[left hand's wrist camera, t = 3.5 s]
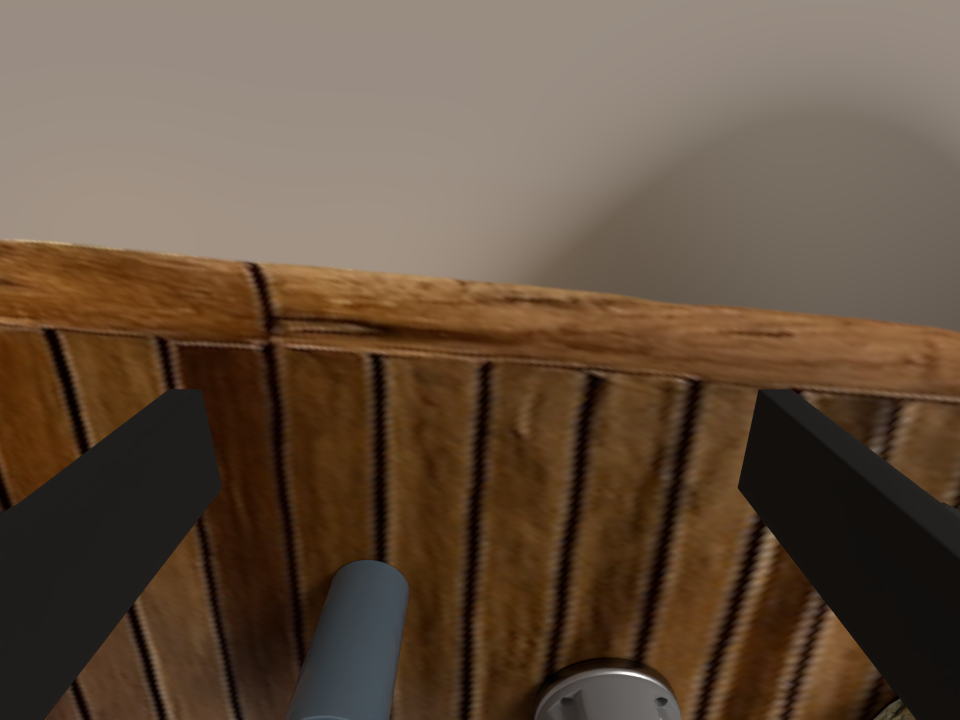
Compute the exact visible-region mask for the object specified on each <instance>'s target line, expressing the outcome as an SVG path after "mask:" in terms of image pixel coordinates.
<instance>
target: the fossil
mask: <svg viewBox="0 0 960 720" xmlns="http://www.w3.org/2000/svg"><path fill="white" fill-rule="evenodd" d="M873 720H916V719H915V718H914V716H913V715H912V714H911V712H910V711H909V710H908V709H907V707H906V706H905V705H904V703H903V702H902V701H901V699H900V698H899V700H897V701H895V702H893V703H892V704H890V705H889V706H888V707H886V708H885V709H884V710H883V711H882V712H881V713H880V714H879V715H878V716H877V717H876V718H875V719H873Z"/></svg>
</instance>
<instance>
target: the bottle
mask: <svg viewBox="0 0 960 720" xmlns="http://www.w3.org/2000/svg"><path fill="white" fill-rule="evenodd" d="M408 600H409V586H408V583H407V581H406V579H405V578H404V576H403V575H402V574H401V573H400V572H399V571H398V570H397V569H395V568H394V567H392V566H391V565H389V564H386V563H384V562H380V561H376V560H359V561H354V562H351V563H349V564H347V565H345V566H343V567H342V568H341V569H340V570H338V572H337V573H336V574H335V575H334V577H333V579H332V582H331V585H330V588H329V591H328V594H327V596H326V599H325V602H324V605H323V608H322V611H321V614H320V617H319V620H318V622H317V625H316V628H315V631H314V634H313V637H312V640H311V643H310V646H309V648H308V651H307V654H306V657H305V660H304V663H303V666H302V669H301V672H300V674H299V677H298V680H297V683H296V686H295V689H294V692H293V695H292V698H291V700H290V703H289V706H288V709H287V712H286V715H285V718H284V720H389V718H390V712H391V706H392V700H393V693H394V687H395V681H396V675H397V668H398V662H399V656H400V650H401V643H402V637H403V631H404V625H405V618H406V612H407V606H408Z"/></svg>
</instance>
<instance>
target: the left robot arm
mask: <svg viewBox="0 0 960 720" xmlns="http://www.w3.org/2000/svg"><path fill="white" fill-rule="evenodd" d="M221 489H222V484H221V480H220V475H219V470H218V466H217V461H216V456H215V451H214V447H213V442H212V437H211V433H210V428H209V423H208V419H207V414H206V409H205V404H204V400H203V395H202V390H201V389H169V390H167V391H166V392H165V393H163V394H162V395H161V396H160V397H158V398H157V399H156V400H154V401H153V402H152V403H150V404H149V405H148V406H146V407H145V408H144V409H142V410H141V411H140V412H138V413H137V414H136V415H134V416H133V417H132V418H131V419H129V420H128V421H127V422H125V423H124V424H123V425H121V426H120V427H119V428H117V429H116V430H115V431H113V432H112V433H111V434H109V435H108V436H107V437H106V438H104V439H103V440H102V441H100V442H99V443H98V444H96V445H95V446H94V447H92V448H91V449H90V450H88V451H87V452H86V453H84V454H83V455H82V456H80V457H79V458H78V459H77V460H75V461H74V462H73V463H71V464H70V465H69V466H67V467H66V468H65V469H63V470H62V471H61V472H59V473H58V474H57V475H55V476H54V477H53V478H51V479H50V480H49V481H48V482H46V483H45V484H44V485H42V486H41V487H40V488H38V489H37V490H36V491H34V492H33V493H32V494H30V495H29V496H28V497H26V498H25V499H24V500H23V501H21V502H20V503H19V504H17V505H15V506H13V507H11V508H9V509H7V510H5V511H3V512H1V513H0V720H44V719H45V718H46V716H47V715H48V714H49V712H50V711H51V710H52V709H53V707H54V706H55V705H56V703H57V702H58V701H59V699H60V698H61V697H62V696H63V694H64V693H65V692H66V690H67V689H68V688H69V686H70V685H71V684H72V683H73V681H74V680H75V679H76V677H77V676H78V675H79V673H80V672H81V671H82V670H83V668H84V667H85V666H86V664H87V663H88V662H89V661H90V659H91V658H92V657H93V655H94V654H95V653H96V651H97V650H98V649H99V648H100V646H101V645H102V644H103V642H104V641H105V640H106V638H107V637H108V636H109V635H110V633H111V632H112V631H113V629H114V628H115V627H116V625H117V624H118V623H119V622H120V620H121V619H122V618H123V616H124V615H125V614H126V612H127V611H128V610H129V609H130V607H131V606H132V605H133V603H134V602H135V601H136V599H137V598H138V597H139V596H140V594H141V593H142V592H143V590H144V589H145V588H146V586H147V585H148V584H149V583H150V581H151V580H152V579H153V577H154V576H155V575H156V573H157V572H158V571H159V570H160V568H161V567H162V566H163V564H164V563H165V562H166V560H167V559H168V558H169V557H170V555H171V554H172V553H173V551H174V550H175V549H176V547H177V546H178V545H179V544H180V542H181V541H182V540H183V538H184V537H185V536H186V534H187V533H188V532H189V531H190V529H191V528H192V527H193V525H194V524H195V523H196V522H197V520H198V519H199V518H200V516H201V515H202V514H203V512H204V511H205V510H206V509H207V507H208V506H209V505H210V503H211V502H212V501H213V499H214V498H215V497H216V496H217V494H218V493H219V492H220V490H221ZM738 489H739V490H740V492H741V493H742V494H743V496H744V497H745V498H746V499H747V501H748V502H749V503H750V505H751V506H752V507H753V509H754V510H755V511H756V512H757V514H758V515H759V516H760V518H761V519H762V520H763V522H764V523H765V524H766V525H767V527H768V528H769V529H770V531H771V532H772V533H773V535H774V536H775V537H776V538H777V540H778V541H779V542H780V544H781V545H782V546H783V547H784V549H785V550H786V551H787V553H788V554H789V555H790V557H791V558H792V559H793V560H794V562H795V563H796V564H797V566H798V567H799V568H800V570H801V571H802V572H803V573H804V575H805V576H806V577H807V579H808V580H809V581H810V583H811V584H812V585H813V586H814V588H815V589H816V590H817V592H818V593H819V594H820V596H821V597H822V598H823V599H824V601H825V602H826V603H827V605H828V606H829V607H830V609H831V610H832V611H833V612H834V614H835V615H836V616H837V618H838V619H839V620H840V622H841V623H842V624H843V625H844V627H845V628H846V629H847V631H848V632H849V633H850V635H851V636H852V637H853V638H854V640H855V641H856V642H857V644H858V645H859V646H860V648H861V649H862V650H863V651H864V653H865V654H866V655H867V657H868V658H869V659H870V661H871V662H872V663H873V664H874V666H875V667H876V668H877V670H878V671H879V672H880V673H881V675H882V676H883V677H884V679H885V680H886V681H887V683H888V684H889V685H890V686H891V688H892V689H893V690H894V692H895V693H896V694H897V696H898V697H899V698H900V699H901V701H902V702H903V703H904V705H905V706H906V707H907V709H908V710H909V711H910V712H911V714H912V715H913V716H914V718H915V719H916V720H960V510H958V509H956V508H954V507H952V506H950V505H948V504H946V503H940V502H939V501H937V500H936V499H935V498H934V497H932V496H931V495H930V494H928V493H927V492H926V491H924V490H923V489H922V488H920V487H919V486H918V485H916V484H915V483H914V482H912V481H911V480H910V479H909V478H907V477H906V476H905V475H903V474H902V473H901V472H899V471H898V470H897V469H895V468H894V467H893V466H891V465H890V464H889V463H887V462H886V461H885V460H883V459H882V458H881V457H880V456H878V455H877V454H876V453H874V452H873V451H872V450H870V449H869V448H868V447H866V446H865V445H864V444H862V443H861V442H860V441H858V440H857V439H856V438H854V437H853V436H852V435H851V434H849V433H848V432H847V431H845V430H844V429H843V428H841V427H840V426H839V425H837V424H836V423H835V422H833V421H832V420H831V419H829V418H828V417H827V416H826V415H824V414H823V413H822V412H820V411H819V410H818V409H816V408H815V407H814V406H812V405H811V404H810V403H808V402H807V401H806V400H804V399H803V398H802V397H800V396H799V395H798V394H797V393H795V392H794V391H793V390H791V389H759V390H758V395H757V400H756V404H755V409H754V414H753V419H752V423H751V428H750V433H749V437H748V442H747V447H746V451H745V456H744V461H743V466H742V470H741V475H740V480H739V484H738ZM533 717H534V720H681V711H680V708H679V705H678V702H677V699H676V697H675V694H674V691H673V689H672V687H671V685H670V684H669V682H668V681H667V680H666V679H665V678H664V677H663V676H662V675H661V674H660V673H658V672H657V671H656V670H654V669H652V668H651V667H648V666H646V665H644V664H641V663H638V662H634V661H630V660H625V659H596V660H591V661H586V662H582V663H579V664H576V665H573V666H571V667H568V668H566V669H564V670H563V671H561V672H559V673H558V674H556V675H555V676H553V677H552V678H551V679H550V680H549V681H548V682H547V683H546V684H545V685H544V686H543V687H542V688H541V690H540V691H539V693H538V695H537V697H536V699H535V702H534V707H533Z"/></svg>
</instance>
